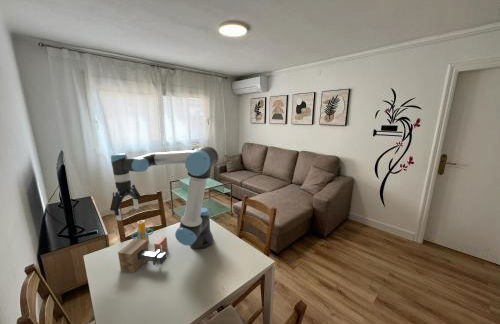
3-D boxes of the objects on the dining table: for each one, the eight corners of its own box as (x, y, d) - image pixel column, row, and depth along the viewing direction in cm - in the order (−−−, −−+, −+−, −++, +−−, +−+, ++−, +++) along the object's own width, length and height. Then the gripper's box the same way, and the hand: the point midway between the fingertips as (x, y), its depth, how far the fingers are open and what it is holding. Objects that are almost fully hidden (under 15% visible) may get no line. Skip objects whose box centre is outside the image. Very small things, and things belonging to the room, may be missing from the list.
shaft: (167, 259, 111) (166, 251, 110) (161, 266, 106) (160, 257, 105) (138, 254, 114) (137, 246, 113) (131, 261, 109) (130, 253, 108)
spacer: (167, 247, 126) (166, 236, 124) (160, 255, 119) (158, 244, 117) (163, 246, 126) (162, 236, 125) (155, 254, 119) (154, 243, 117)
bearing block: (149, 256, 118) (147, 240, 115) (134, 272, 106) (131, 254, 103) (137, 254, 119) (134, 238, 116) (120, 270, 108) (117, 252, 105)
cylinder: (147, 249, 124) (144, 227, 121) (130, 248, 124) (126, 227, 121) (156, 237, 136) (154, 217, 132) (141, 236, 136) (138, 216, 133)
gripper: (133, 173, 128) (137, 204, 133) (97, 187, 104) (104, 224, 109) (143, 174, 127) (148, 205, 132) (109, 188, 103) (116, 226, 108)
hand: (128, 214), depth 120 cm, fingers open, 13 cm apart
